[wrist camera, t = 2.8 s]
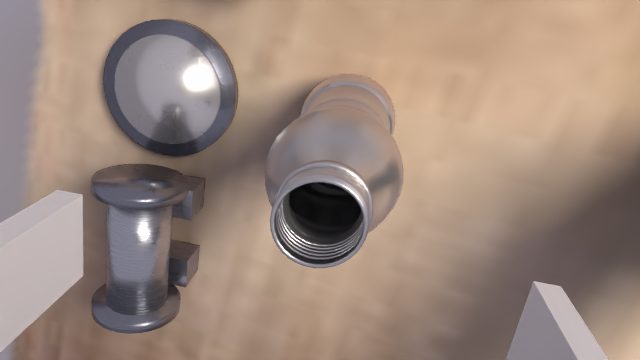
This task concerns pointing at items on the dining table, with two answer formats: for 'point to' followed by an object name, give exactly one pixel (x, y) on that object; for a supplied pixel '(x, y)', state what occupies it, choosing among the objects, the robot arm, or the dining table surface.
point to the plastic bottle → (334, 172)
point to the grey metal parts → (156, 181)
